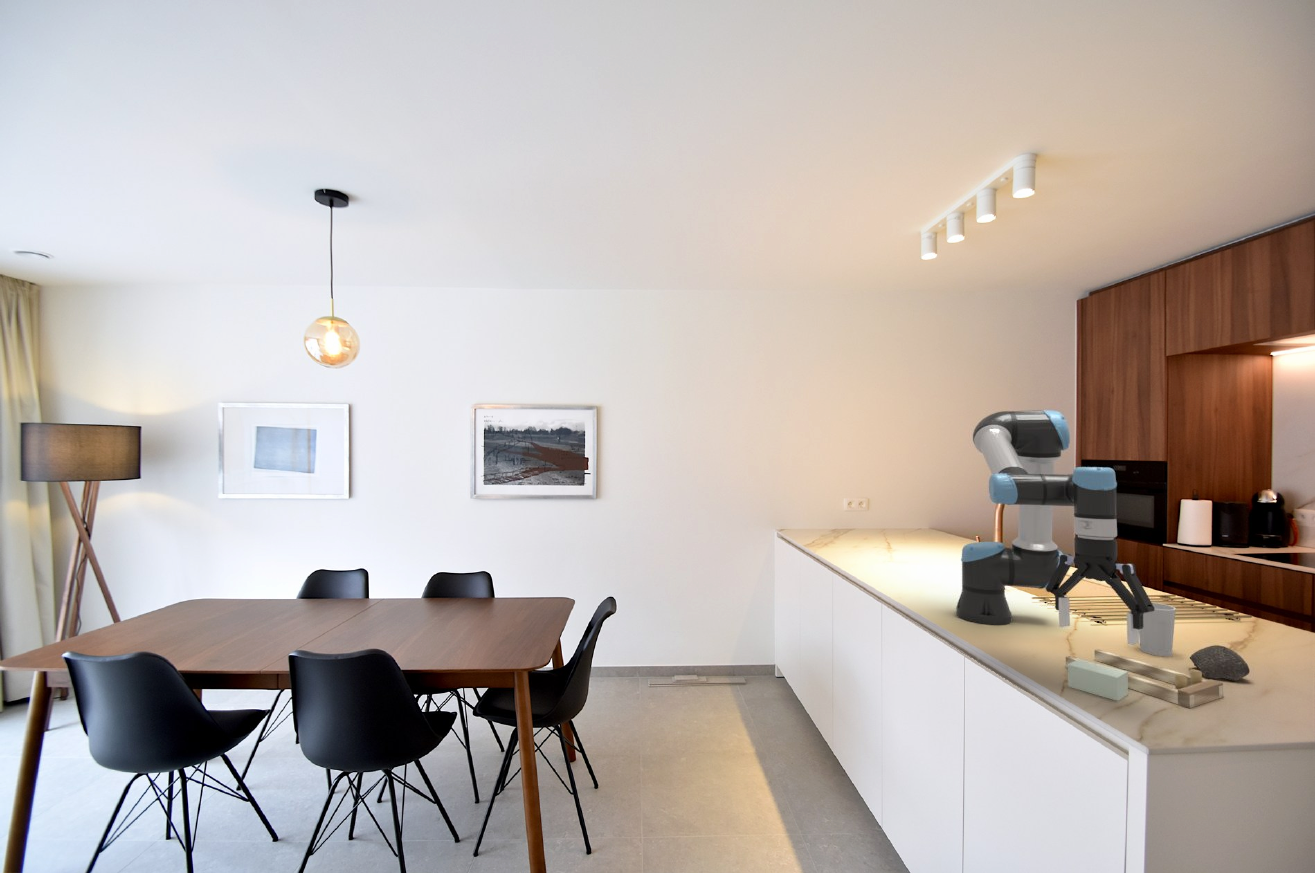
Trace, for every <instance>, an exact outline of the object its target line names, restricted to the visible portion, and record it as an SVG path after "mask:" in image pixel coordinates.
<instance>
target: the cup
mask: <svg viewBox="0 0 1315 873" xmlns="http://www.w3.org/2000/svg"><path fill="white" fill-rule="evenodd" d="M1151 603H1152V604H1153V606H1154V608H1155V610H1154V611H1153V612H1147V613H1144V614H1143V629H1139V650H1140V652H1142V653H1146V654H1147V655H1148V654H1149V655H1153V656H1157V657H1167V658H1168V657H1172V656H1173V643H1174V632H1175V621H1176V620H1175V619H1176V613H1177V612H1176V611H1177V609H1176V607H1175V606H1173V605H1169V604H1165V603H1159V602H1152V601H1151Z"/></svg>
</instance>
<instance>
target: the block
mask: <svg viewBox="0 0 1315 873" xmlns="http://www.w3.org/2000/svg"><path fill="white" fill-rule="evenodd" d="M1128 673H1129V671H1128V670H1124V669H1118V668H1117V667H1111V666H1107V665H1104V664H1099V663H1096V662H1092V661H1087V660H1084V659H1080V658H1078V660H1076V661H1074V662H1072V663H1070V664H1068V668H1067V686H1068V688H1072V689H1076V690H1080V691H1082V692H1085V693H1090V694H1093V695H1096V696H1100V697H1103V698H1105V699H1106V698H1107V699H1111V700H1113V701H1117V702H1119V701H1120V700H1121V699H1123V698H1124V697H1126V696H1127V695H1129V688H1128Z"/></svg>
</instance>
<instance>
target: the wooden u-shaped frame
mask: <svg viewBox="0 0 1315 873" xmlns="http://www.w3.org/2000/svg"><path fill="white" fill-rule="evenodd" d="M1078 659H1079V658H1078V657H1074V656H1071V655H1069V656H1065V668H1066V669H1068V664H1070V663H1072V662H1074V661H1076V660H1078ZM1094 661H1096V662H1098V663H1099V662H1100V663H1103V664H1106V665H1109V666H1113V667H1114V668H1120V669H1121V670H1124V671H1127V672H1132V673H1136V674H1139V675H1141V676H1146V677H1147V678H1148V677H1149V678H1152V679H1154V680H1159V681H1161V682H1165V683H1169V684H1171V685H1174V686H1175V687H1172V686H1168V685H1165V684H1162V683H1158V682H1155V681H1151V680H1148V679H1145V678H1142V677H1138V676H1135V675H1132V674H1128V689H1131V690H1134V691H1137V692H1140V693H1142V694H1145V695H1149V696H1151V697H1155V698H1158V699H1161V700H1164V701H1166V702H1170V703H1173V704H1176V705H1178V706H1182V707H1184V708H1185V707H1186V708H1189V709H1192V708H1196V707H1197V706H1201V705H1204V704H1206V703H1211V702H1212V701H1213V702H1214V701H1216V700H1219V699H1221V698H1223V697H1224V682H1221V681H1218V680H1214V679H1208V680H1206V679H1204V678H1203V674H1202V672H1201V670H1200V669H1199V670H1198V669H1194V668H1193V669H1190V670H1189V671H1190V675H1189V674H1185V673H1182V672H1179V671H1176V670H1172V669H1168V668H1164V667H1162V666H1158V665H1154V664H1151V663H1148V662H1144V661H1142V660H1141V661H1140V660H1137V659H1134V658H1131V657H1127V656H1123V655H1121V654H1120V655H1119V654H1117V653H1112V652H1110V651H1106V650H1102V649H1097V648H1096V649H1094Z"/></svg>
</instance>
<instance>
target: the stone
mask: <svg viewBox="0 0 1315 873" xmlns="http://www.w3.org/2000/svg"><path fill="white" fill-rule="evenodd" d="M1189 659H1190V661H1191V662H1192V663H1193V666H1194V667H1196V668H1198V669H1199V671H1201V672H1202V676H1203V677H1204V678H1207V679H1208V680H1210V679H1212V680H1214V679H1225V680H1229V681H1232V682H1236V681H1237V682H1238V681H1239V680H1241V679H1242V678H1245V677H1247V676H1249V674H1250V672H1251V671H1250V667H1249V665H1248V663H1247V662H1246V661H1245V659H1244V658H1243V657H1242V656H1241V655H1239V654H1238V653H1237V652H1235V650H1233V649H1230V648H1229V647H1226V646H1223V645H1218V644H1217V645H1215V644H1214V645H1209V646H1206V647H1203V648H1201V649H1199V650H1197V651H1195V652H1194V653H1193V654H1191V656H1190V657H1189Z"/></svg>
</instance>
